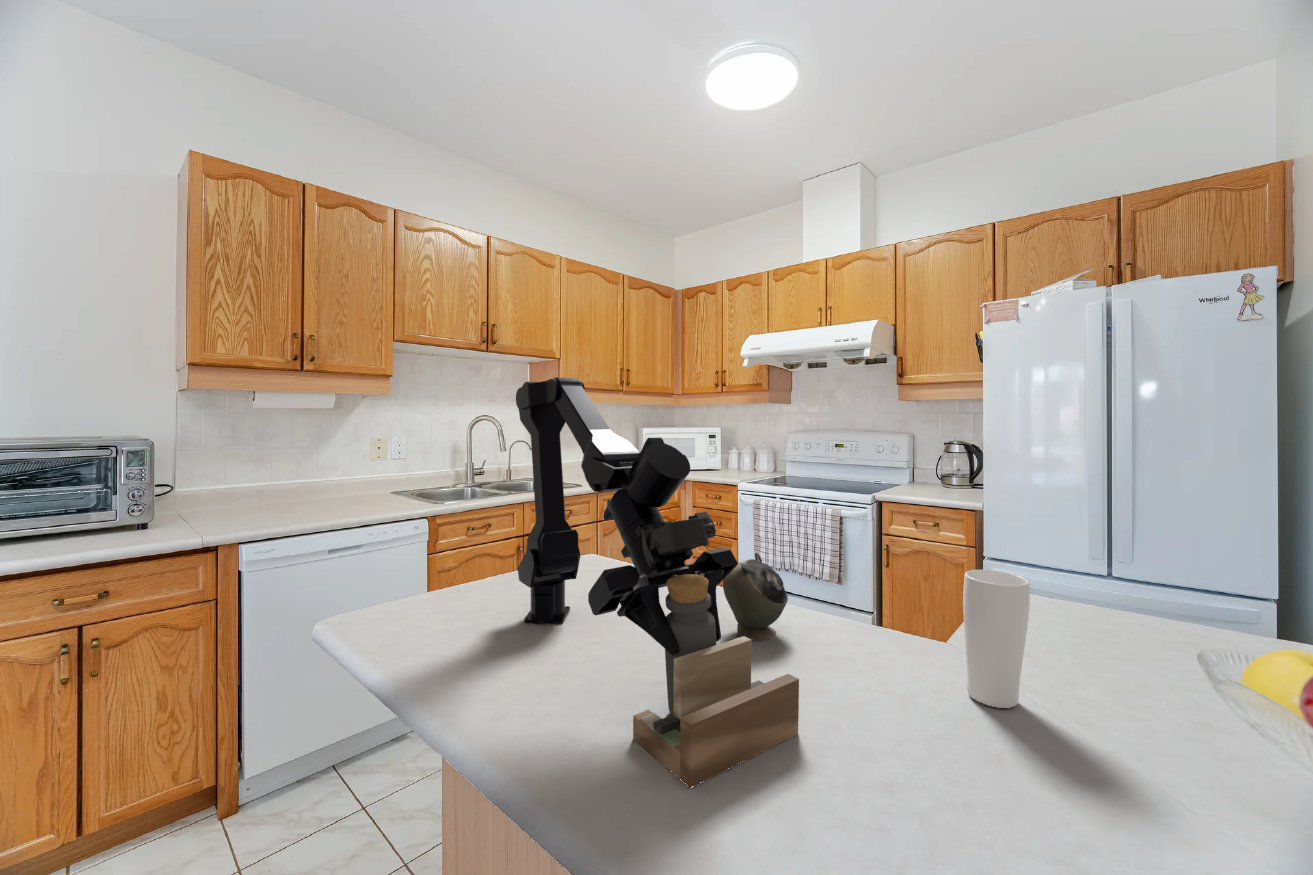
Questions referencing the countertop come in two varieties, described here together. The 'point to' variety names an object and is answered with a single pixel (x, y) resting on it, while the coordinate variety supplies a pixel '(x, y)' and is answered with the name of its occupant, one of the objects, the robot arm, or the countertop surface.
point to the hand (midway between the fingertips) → (697, 646)
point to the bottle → (688, 620)
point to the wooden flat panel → (708, 679)
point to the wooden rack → (723, 731)
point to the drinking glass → (995, 635)
